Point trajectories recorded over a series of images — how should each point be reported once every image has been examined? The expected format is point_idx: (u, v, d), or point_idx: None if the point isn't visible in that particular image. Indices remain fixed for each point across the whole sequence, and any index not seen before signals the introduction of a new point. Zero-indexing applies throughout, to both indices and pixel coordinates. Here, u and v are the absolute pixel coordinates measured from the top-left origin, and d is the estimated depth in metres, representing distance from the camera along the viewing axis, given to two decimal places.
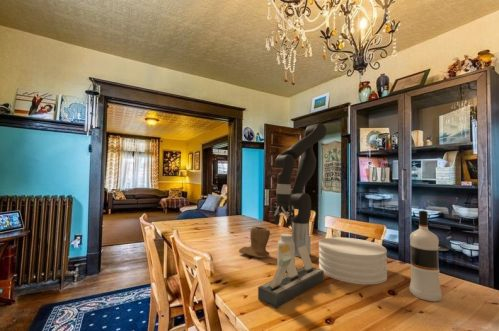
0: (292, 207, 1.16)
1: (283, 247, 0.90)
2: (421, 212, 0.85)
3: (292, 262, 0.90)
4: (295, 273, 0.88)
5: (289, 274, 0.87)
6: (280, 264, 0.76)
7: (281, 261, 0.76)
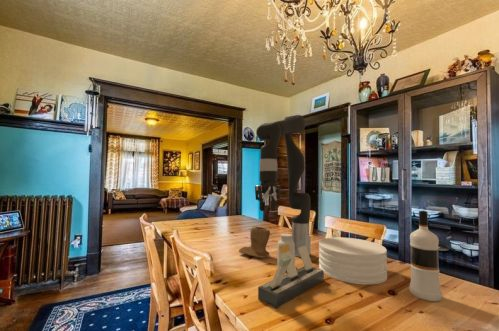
0: None
1: (283, 247, 0.90)
2: (421, 212, 0.85)
3: (292, 262, 0.90)
4: (295, 273, 0.88)
5: (289, 274, 0.87)
6: (280, 264, 0.76)
7: (281, 261, 0.76)
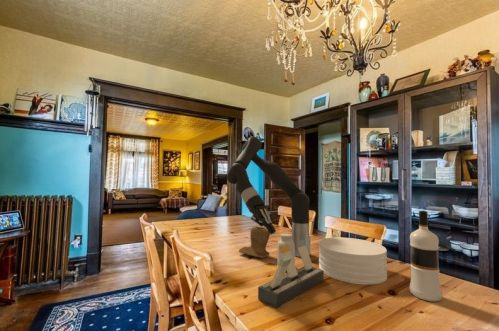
0: None
1: (283, 247, 0.90)
2: (421, 212, 0.85)
3: (292, 262, 0.90)
4: (295, 273, 0.88)
5: (289, 274, 0.87)
6: (280, 264, 0.76)
7: (281, 261, 0.76)
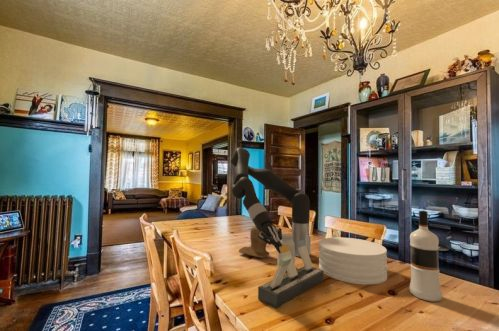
0: None
1: (283, 247, 0.90)
2: (421, 212, 0.85)
3: (292, 262, 0.90)
4: (295, 273, 0.88)
5: (289, 274, 0.87)
6: (280, 264, 0.76)
7: (281, 261, 0.76)
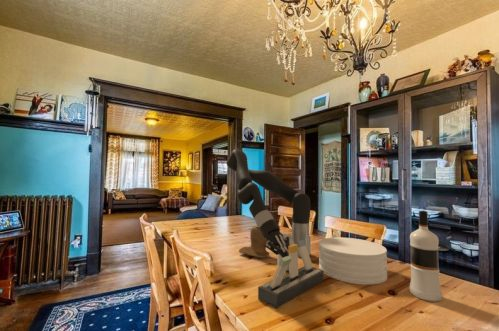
0: None
1: (292, 247, 0.87)
2: (421, 212, 0.85)
3: (296, 263, 0.88)
4: (296, 274, 0.88)
5: (290, 274, 0.86)
6: (280, 264, 0.76)
7: (281, 261, 0.76)
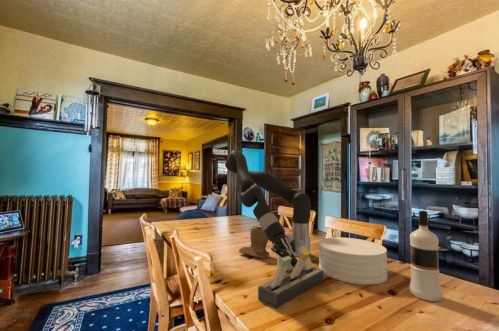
0: None
1: (305, 256, 0.83)
2: (421, 212, 0.85)
3: (301, 267, 0.87)
4: (297, 275, 0.87)
5: (292, 275, 0.86)
6: (280, 264, 0.76)
7: (281, 261, 0.76)
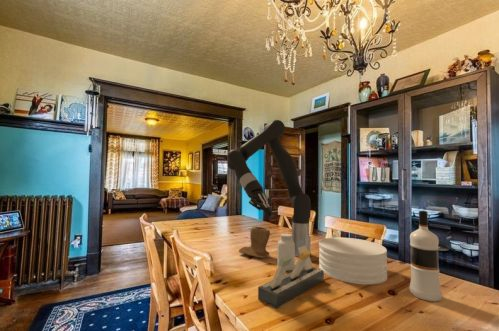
0: None
1: (305, 256, 0.83)
2: (421, 212, 0.85)
3: (301, 267, 0.87)
4: (297, 275, 0.87)
5: (292, 275, 0.86)
6: (280, 264, 0.76)
7: (281, 261, 0.76)
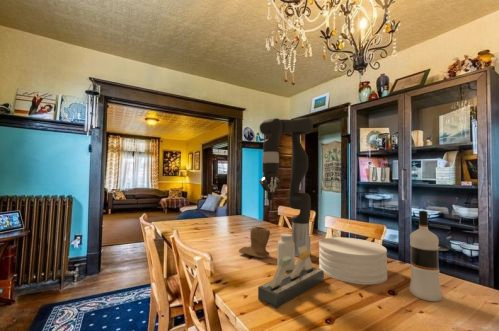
0: None
1: (305, 256, 0.83)
2: (421, 212, 0.85)
3: (301, 267, 0.87)
4: (297, 275, 0.87)
5: (292, 275, 0.86)
6: (280, 264, 0.76)
7: (281, 261, 0.76)
